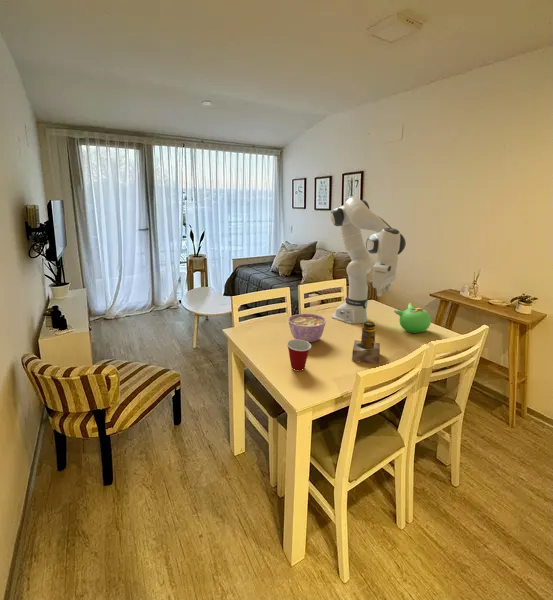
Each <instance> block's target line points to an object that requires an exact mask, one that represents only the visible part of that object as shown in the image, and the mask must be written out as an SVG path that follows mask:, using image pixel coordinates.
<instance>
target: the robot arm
mask: <svg viewBox="0 0 553 600" xmlns="http://www.w3.org/2000/svg"><path fill="white" fill-rule="evenodd" d="M330 220H331V222H332V224H333V226H335V227H340V231H341V236H342V241H343V245H344V248H345V251H346V253H347V254H348V256H349V258H350V260H351V261H350V262H349V263H348V264H347V266H346V274H347V277H348V286H349V287H348V295H347V297H345V298H344V302H343V303H342V304H340V305H339V306H338V307H337V308H336V309H335V312H334V313H332V314H331V318H332V319H335V320H337V321H341V322H343V323H347V324H351V325H353V324H364V322H367V321H369V319H368V314H367V313H368V312H367V308H368V303H369V301H368V292H369V291H368V290H369V285H368V282H367V281H368V279H367V275H368V274H369V273H370V272H371V271H372V270H373V273H372V275H373V276H372V288H373V289H376V296H377V297H382V296H383V292H385V293H388V292H389V291H390V287H391V284H392V283H393V282H394V281H395V280H396V275H397V268H398V267H397V266H398V260H399V257H398V255H400V254H401V253H402V252H403V251H404V250H405V248H406V239H405V237H404V235H403V234H402V233H400V231H399V230H398V229H396V228H393V227H391V225H389V224H388V223H387V222H386V221H385V220H384V219H383V218H382V217H380V216H378V215H377V214H376V213H375V212H373V211H372V210H371V209H370V206H369V203H368V201H366V200H363V199H360V198H359V197H356V196H352V197H350V198H348V199H347V200H346V201H345V203H344V204H343V205H341V206H339V207H338V206H336V207H335V208H333V209H332V210H331V211H330ZM361 230H366V231H372V232H376V233H373V234H372V233H371V234H370V235H369V236H368V237H367V239H366V242H364V240H363V239H364V238H363V235H362V231H361ZM369 254H372V255H377V260H376V262H375V263H374V262H373V260H372V259H371V257H370V255H369ZM373 264H374V265H373ZM383 288H384V289H383ZM382 290H383V291H382Z"/></svg>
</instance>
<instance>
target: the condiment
mask: <svg viewBox="0 0 553 600" xmlns="http://www.w3.org/2000/svg"><path fill="white" fill-rule="evenodd" d="M376 331H377V330H376V323H375V322H373V321H370V320H368V321H367V322H364V323H363V326H362V329H361V340H360V341H361V343H359V344H354V343H353V346H354V345H355V346H356V347H358V348H359V349H360V350H361V351H363V350H372V349H378V348H376V347H375V346H374V342H375V341H376ZM375 343H376V342H375Z"/></svg>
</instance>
